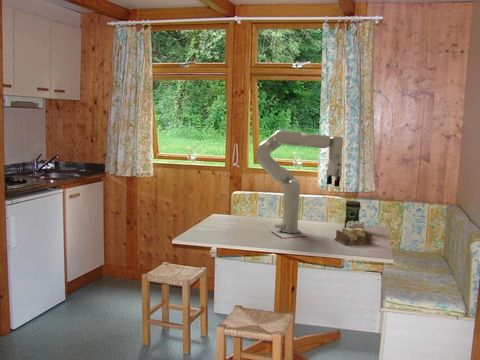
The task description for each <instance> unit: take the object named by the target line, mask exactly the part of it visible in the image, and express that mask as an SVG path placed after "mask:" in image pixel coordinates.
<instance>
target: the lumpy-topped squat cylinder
mask: <svg viewBox="0 0 480 360" xmlns="http://www.w3.org/2000/svg"><path fill="white" fill-rule="evenodd" d="M346 228H362V229H364V230H365V224H364V222H363V221H361V222H360V221H359V222H358V221H356V222H354V221H351V222H350V221H348V222H347V224H346ZM350 238H357V237H350Z"/></svg>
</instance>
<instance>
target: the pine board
mask: <svg viewBox="0 0 480 360" xmlns="http://www.w3.org/2000/svg"><path fill="white" fill-rule="evenodd" d="M341 229H342V230H341V232H343V233H346V234H347V238H348V237H365V231H366V229H365V228H364V229H362V228H344V227H343V228H341Z"/></svg>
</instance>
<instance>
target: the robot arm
mask: <svg viewBox="0 0 480 360" xmlns="http://www.w3.org/2000/svg"><path fill="white" fill-rule="evenodd" d="M282 145H284V146H294V147H305V148H317V149H327V148H329V149H328V150H329V152H328V164H327V169H326V185H332V184H333V182H334V184H333V187H337V188H339V187H340V184H341V178H342V175H343V174H342V173H343V170H342V169H343V168H342V167H343V161H342V157H343V145H344V138H343V137H342V136H336V135H331V136H330V135H325V134H322V135H320V134H311V133H307V132H301V131H292V130H282V129H278V130H276V131H275V132H274V133H273V134H272V135H270V136H269V137H268V138H266V139H265V140H264V141H262V142H261V143H259V145H258V146H257V148H256V156H255V157H256V159H257V163H258V164H259V166H260V167H261V168H262V169H263V170H265V172H266V173H267V174H268V175H269V176H270V177H271V179H272V180H273V181H274V182H276V183H278V184H280V186H282V188H283V204H282V206H283V207H282V220H281V222H280V223H279V224H274V229H279V231H280V232H281V231H282V233H285V232H287V233H286V234H297V233H298V234H299V233H300V231H301V229H300V228H298V224H299V213H300V212H299V209H300V208H299V207H300V195H301V194H300V193H301V183H300V180H298V179H297V178H296V177H295V176H294V174H292V173H291V172H290V171H289V170H288V169H287V168H286V167H284V166H282V165H280V164H279V163H278V162H277V161H276V160H275V158H273V157H272V155H271V153H273V152H274V151H276V150H277V149H278V148H279V147H281V146H282ZM333 177H334V181H333Z"/></svg>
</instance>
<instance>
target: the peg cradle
mask: <svg viewBox="0 0 480 360" xmlns="http://www.w3.org/2000/svg"><path fill="white" fill-rule="evenodd" d="M335 234H336V235H335V238H334V241H335V242H337V243H340V244H341V245H344V246H357V245H359V246H360V245H361V246H362V245H374V244H373V241H372V239H373V233H372V232H370V231H367V230H365V237H357V238H350V237H347V234H346V233H343V232H342V230H339V229H337V230H336V233H335Z"/></svg>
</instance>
